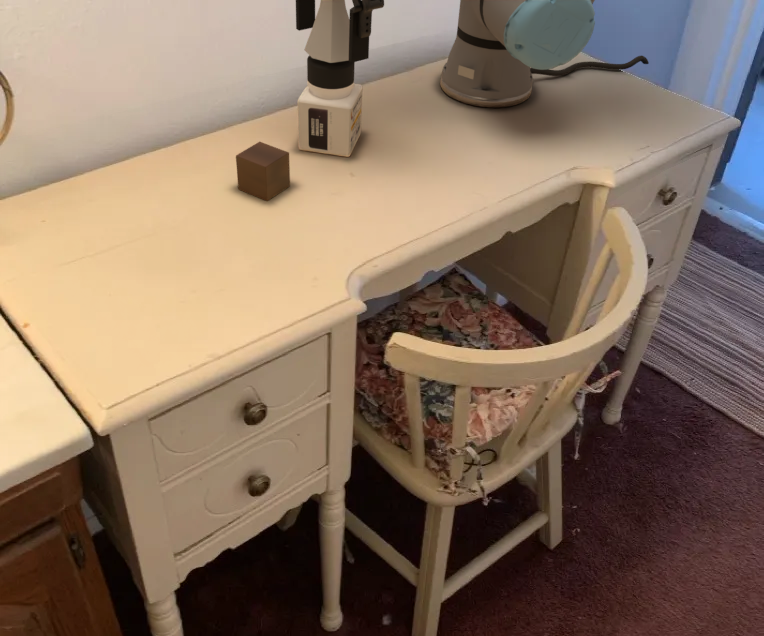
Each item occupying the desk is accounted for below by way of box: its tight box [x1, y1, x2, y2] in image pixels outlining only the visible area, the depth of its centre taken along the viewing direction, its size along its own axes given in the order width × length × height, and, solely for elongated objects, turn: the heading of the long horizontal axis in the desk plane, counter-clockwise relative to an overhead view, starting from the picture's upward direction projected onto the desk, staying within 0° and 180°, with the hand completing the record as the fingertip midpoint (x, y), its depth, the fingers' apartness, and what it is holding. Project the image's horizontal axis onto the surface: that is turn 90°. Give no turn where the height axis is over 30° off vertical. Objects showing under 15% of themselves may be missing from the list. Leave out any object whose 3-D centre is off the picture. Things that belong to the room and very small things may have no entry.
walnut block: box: [235, 141, 291, 202], centre depth 111 cm, size 5×5×5 cm
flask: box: [304, 0, 350, 63], centre depth 111 cm, size 7×7×10 cm
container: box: [297, 54, 363, 158], centre depth 119 cm, size 8×8×13 cm
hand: (331, 43), depth 113 cm, fingers open, 12 cm apart
